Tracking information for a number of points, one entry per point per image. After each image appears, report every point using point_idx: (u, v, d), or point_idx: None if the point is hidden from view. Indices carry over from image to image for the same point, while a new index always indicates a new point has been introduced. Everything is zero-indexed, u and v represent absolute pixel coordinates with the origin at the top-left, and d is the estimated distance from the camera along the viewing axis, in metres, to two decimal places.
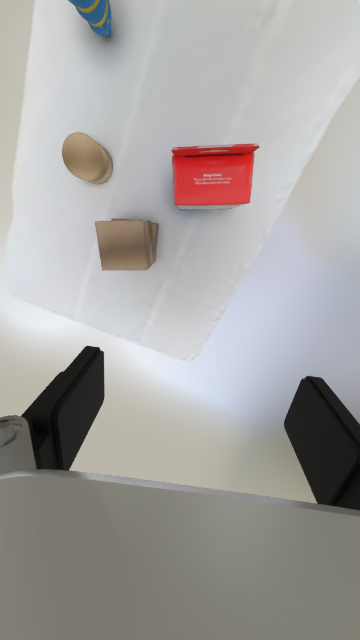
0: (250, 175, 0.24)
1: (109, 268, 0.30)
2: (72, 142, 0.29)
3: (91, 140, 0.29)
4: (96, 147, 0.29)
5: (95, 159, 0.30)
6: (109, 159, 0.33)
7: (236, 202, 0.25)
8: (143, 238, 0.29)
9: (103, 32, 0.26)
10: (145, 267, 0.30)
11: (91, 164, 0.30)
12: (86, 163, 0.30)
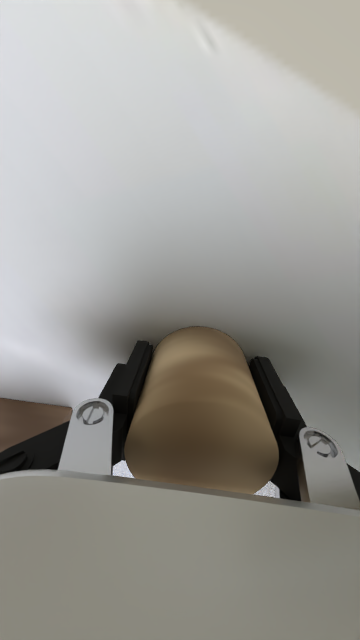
0: None
1: None
2: (248, 443, 0.07)
3: None
4: None
5: None
6: None
7: None
8: None
9: None
10: None
11: (172, 482, 0.08)
12: (175, 470, 0.08)
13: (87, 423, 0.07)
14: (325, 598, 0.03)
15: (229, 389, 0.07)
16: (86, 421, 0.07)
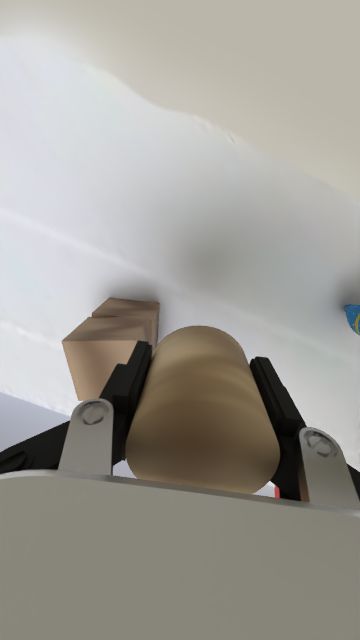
0: None
1: (67, 352, 0.18)
2: (249, 442, 0.07)
3: (246, 493, 0.08)
4: None
5: None
6: None
7: None
8: None
9: (348, 320, 0.23)
10: (81, 399, 0.20)
11: (173, 481, 0.08)
12: (176, 469, 0.08)
13: (87, 423, 0.07)
14: (325, 598, 0.03)
15: (230, 388, 0.07)
16: (86, 421, 0.07)
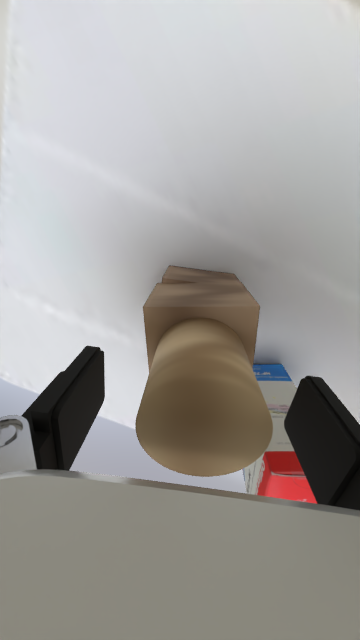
0: None
1: (148, 324, 0.12)
2: (245, 416, 0.08)
3: (243, 464, 0.09)
4: (223, 472, 0.09)
5: (192, 465, 0.09)
6: None
7: None
8: None
9: None
10: None
11: (178, 454, 0.09)
12: (181, 442, 0.09)
13: None
14: (325, 598, 0.03)
15: (228, 369, 0.08)
16: None
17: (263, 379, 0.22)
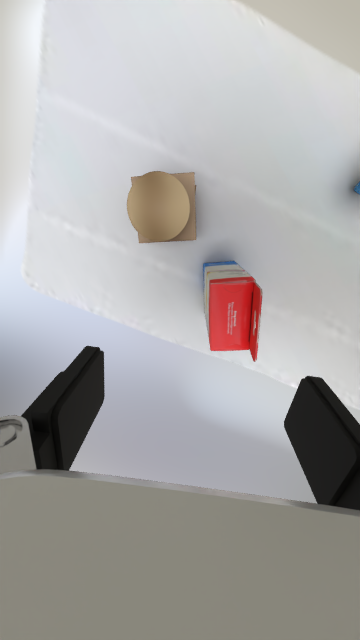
0: (232, 349, 0.27)
1: None
2: (176, 194, 0.18)
3: (179, 229, 0.19)
4: (171, 236, 0.19)
5: (155, 233, 0.19)
6: None
7: (211, 340, 0.27)
8: (176, 239, 0.24)
9: (359, 188, 0.27)
10: (142, 241, 0.24)
11: (148, 225, 0.19)
12: (149, 216, 0.18)
13: None
14: (325, 598, 0.03)
15: None
16: None
17: (218, 265, 0.32)
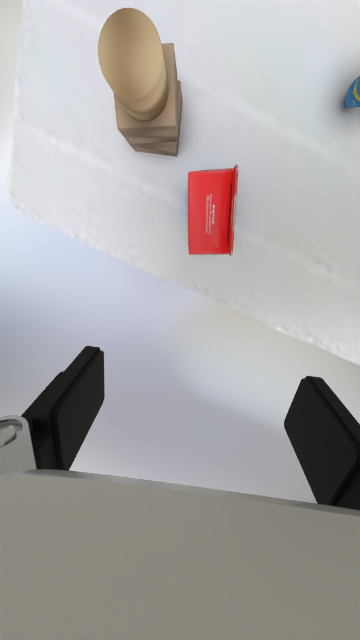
0: (211, 252, 0.26)
1: None
2: (148, 37, 0.17)
3: (152, 82, 0.18)
4: (143, 91, 0.18)
5: (127, 86, 0.18)
6: (147, 116, 0.22)
7: (189, 241, 0.26)
8: (155, 125, 0.23)
9: (348, 95, 0.27)
10: (120, 126, 0.23)
11: (120, 77, 0.18)
12: (120, 65, 0.18)
13: None
14: (325, 598, 0.03)
15: None
16: None
17: None
